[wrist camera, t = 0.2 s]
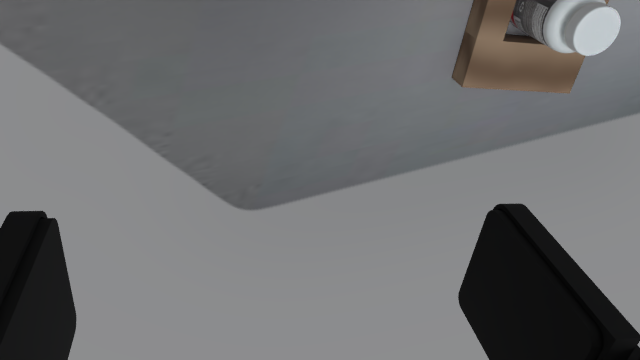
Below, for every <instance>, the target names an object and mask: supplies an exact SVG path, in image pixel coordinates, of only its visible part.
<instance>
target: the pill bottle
mask: <svg viewBox="0 0 640 360" xmlns="http://www.w3.org/2000/svg"><path fill="white" fill-rule="evenodd" d="M510 21H511V22H512V24H513V25H514V26H515V27H517V28H518V29H520V30H521V31H523V32H525V33H526V34H528V35H529V36H531V37H533V38H535V39H536V40H538V41H540V42H541V43H543V44H545V45H546V46H548V47H549V48H551V49H553V50H555V51H557V52H560V53H573V52H577V53H579V54H581V55H585V56H592V55H596V54H598V53H600V52H602V51H604V50H605V49H607V48H608V47H609V46H610V45H611V44H612V43H613V41H614V40H615V38H616V37H617V35H618V32H619V29H620V24H621V21H620V16H619V14H618V12H617V11H616V10H615V9H614V8H612V7H610V6H608V5H606V2H605V0H516V3H515V6H514V9H513V12H512V15H511V18H510Z"/></svg>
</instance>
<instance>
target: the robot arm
mask: <svg viewBox="0 0 640 360" xmlns="http://www.w3.org/2000/svg"><path fill="white" fill-rule="evenodd" d="M458 298H459V304H460V307H461V309H462V311H463V313H464V314H465V316H466V318H467V320H468V322H469V324H470V325H471V327H472V329H473V331H474V333H475V334H476V336H477V338H478V340H479V342H480V343H481V345H482V347H483V349H484V351H485V353H486V354H487V356H488V358H489V360H640V348H639V347H638V345H637V344H638V343H639V341H640V334H639V333H638V332H637V331H636V330H635V329H634V328H633V327H632V325H631V324H630V323H629V322H628V321H627V320H626V319H625V318H624V316H623V315H622V314H621V313H620V312H619V311H618V310H617V309H616V307H615V306H614V305H613V304H612V303H611V302H610V301H609V300H608V298H607V297H606V296H605V295H604V294H603V293H602V292H601V290H600V289H598V287H597V286H596V285H595V284H594V283H593V281H592V280H591V279H590V278H589V277H588V276H587V275H586V274H585V272H584V271H583V270H582V269H581V268H580V267H579V266H578V265H577V263H576V262H575V261H574V260H573V259H572V258H571V257H570V256H569V254H568V253H567V252H566V251H565V250H564V249H563V248H562V247H561V245H560V244H559V243H558V242H557V241H556V240H555V239H554V237H553V236H552V235H551V234H550V233H549V232H548V231H547V230H546V228H545V227H544V226H543V225H542V224H541V223H540V222H539V221H538V219H537V218H536V217H535V216H534V215H533V214H532V213H531V212H530V210H529V209H528V208H527V207H526V206H525V205H523V204H498V205H496V206H495V207H494V209H493V210H491V211H489V212H488V214H487V216H486V219H485V221H484V224H483V227H482V230H481V232H480V235H479V238H478V241H477V243H476V247H475V249H474V252H473V254H472V257H471V260H470V263H469V266H468V268H467V271H466V274H465V277H464V280H463V283H462V285H461V288H460V291H459V297H458ZM75 329H76V311H75V307H74V302H73V297H72V292H71V287H70V282H69V277H68V272H67V267H66V262H65V257H64V252H63V247H62V242H61V237H60V232H59V227H58V223H57V220H56V219H55V218H47V215H46V214H45V212H43V211H19V212H17V211H16V212H15V211H14V212H10V213H9V214H8V215H7V217H6V219H5V221H4V223H3V224H2V226H1V228H0V360H68V356H69V352H70V349H71V345H72V341H73V338H74V334H75Z"/></svg>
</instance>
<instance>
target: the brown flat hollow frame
mask: <svg viewBox="0 0 640 360" xmlns="http://www.w3.org/2000/svg"><path fill="white" fill-rule="evenodd" d="M608 1H609V0H605V2H606V5H607V4H608ZM515 3H516V0H474V2H473V5H472V9H471V12H470V16H469V19H468V23H467V26H466V30H465V33H464V37H463V40H462V44H461V47H460V51H459V54H458V58H457V61H456V65H455V68H454V72H453V75H452V78H453V79H454V80H455V81H456V82H457V83H458V84H459V85H460V86H461V87H468V88H485V89H503V90H520V91H537V92H554V93H570V91H571V89H572V86H573V84H574V82H575V79H576V77H577V74H578V72H579V70H580V67H581V65H582V63H583V60H584V58H585V55H581V54H579V53H577V52H573V53H560V52H557V51H555V50H553V49H551V48H549V47H548V46H546V45H545V44H543V43H541V42H540V41H538V40H536V39H535V38H533V37H531V36H520V35H508V34H506V30H507V27H508V24H509V21H510V18H511V15H512V12H513V9H514V6H515Z"/></svg>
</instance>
